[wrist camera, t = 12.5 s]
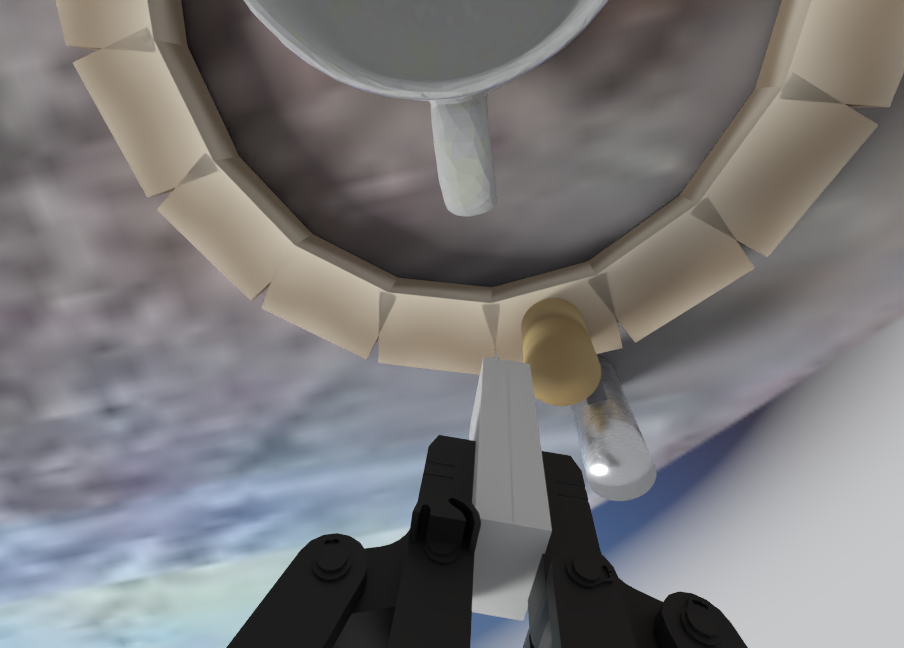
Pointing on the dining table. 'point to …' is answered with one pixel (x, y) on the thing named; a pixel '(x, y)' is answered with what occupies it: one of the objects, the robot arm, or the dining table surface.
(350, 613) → the robot arm
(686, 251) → the ring
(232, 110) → the dining table surface
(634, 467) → the shiny cylinder
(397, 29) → the teacup
